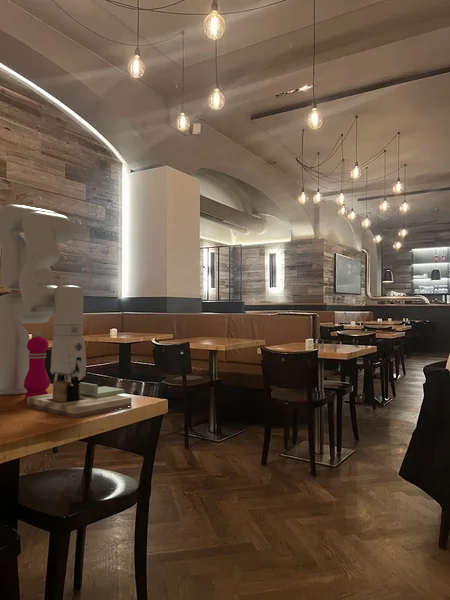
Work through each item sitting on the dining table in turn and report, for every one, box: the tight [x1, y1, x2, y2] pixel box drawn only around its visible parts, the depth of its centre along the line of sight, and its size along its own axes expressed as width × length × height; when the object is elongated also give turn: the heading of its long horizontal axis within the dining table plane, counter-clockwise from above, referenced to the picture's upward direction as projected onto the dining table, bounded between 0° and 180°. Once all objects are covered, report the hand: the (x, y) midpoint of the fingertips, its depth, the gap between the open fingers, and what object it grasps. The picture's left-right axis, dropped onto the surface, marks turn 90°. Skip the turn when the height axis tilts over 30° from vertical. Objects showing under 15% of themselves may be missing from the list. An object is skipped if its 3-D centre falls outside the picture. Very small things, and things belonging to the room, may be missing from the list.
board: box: [26, 393, 133, 419], centre depth 125 cm, size 22×18×2 cm
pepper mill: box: [24, 331, 51, 401], centre depth 137 cm, size 7×7×20 cm
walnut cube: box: [52, 379, 80, 403], centre depth 122 cm, size 5×5×5 cm
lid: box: [80, 381, 125, 398], centre depth 131 cm, size 9×10×3 cm
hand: (66, 398), depth 122 cm, fingers closed on walnut cube, 4 cm apart
